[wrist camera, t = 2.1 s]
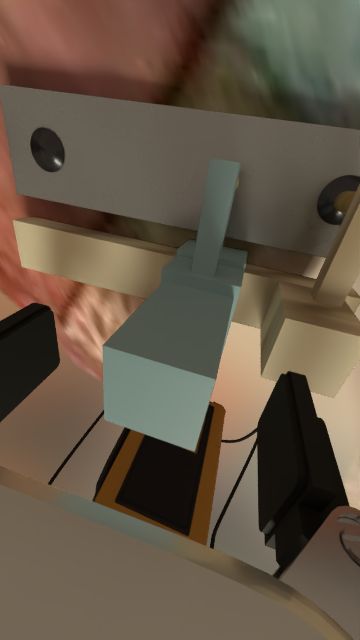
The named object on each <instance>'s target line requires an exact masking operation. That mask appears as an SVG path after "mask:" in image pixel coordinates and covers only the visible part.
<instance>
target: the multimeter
mask: <svg viewBox="0 0 360 640" xmlns="http://www.w3.org/2000/svg"><path fill="white" fill-rule="evenodd" d="M225 412H226V411H225V409H224V407H223V406H222V405H220V404H218V403H216V402H210V401H209V405H208V408H207V412H206V415H205V418H204V422H203V425H202V428H201V432H200V435H199V439H198V442H197V445H196V449H195V452H194V451H191V450H188V449H185V448H183V447H180V446H177V445H174V444H171V443H168V442H166V441H163V440H160V439H157V438H154V437H151V436H149V435H146V434H143V433H140V432H137V431H134V430H132V429H129V428H126V427H125V428H124V430H123V431H122V433H121V435H120V437H119V439H118V441H117V443H116V445H115V447H114V448H113V450H112V452H111V454H110V456H109V458H108V460H107V462H106V464H105V466H104V468H103V471H102V473H101V475H100V477H99V480H98V482H97V485H96V493H95V496H94V497H93V499H92V501H93V502H95V503H98V504H101V505H103V506H106V507H108V508H111V509H113V510H116V511H119V512H121V513H124V514H126V515H129V516H131V517H134V518H137V519H139V520H142V521H144V522H147V523H149V524H152V525H155V526H157V527H160V528H162V529H165V530H167V531H170V532H173V533H175V534H178V535H180V536H183V537H185V538H187V539H190V540H192V541H195V542H197V543H200V544H202V545H205V546H206V544H207V538H208V531H209V524H210V517H211V510H212V503H213V496H214V489H215V483H216V475H217V469H218V462H219V454H220V447H221V442H225V443H235V442H240V441H242V440H245V439H247V438H249V437H250V436H252V435H253V434H254V433H256V432H257V428H256V429H255V430H254V431H252V432H251V433H249V434H248V435H247V436H245V437H243V438H240V439H237V440H221V439H222V431H223V424H224V416H225ZM103 414H104V410H103V412H102V413H101V414H100V415H99V417H98V418H97V419H96V421H95V422H94V423H93V424H92V425H91V427H90V428H89V429H88V430H87V432H86V433H85V434H84V436H83V437H82V438H81V439H80V441H79V442H78V443H77V445H76V446H75V447H74V448H73V450H72V451H71V452H70V454H69V455H68V456H67V458H66V459H65V460H64V462H63V463H62V464H61V466H60V467H59V469H58V470H57V471H56V473H55V474H54V476H53V477H52V478H51V480H50V482H49V483H48V485H51V484H52V483H53V481H54V479H55V478H56V477H57V475H58V474H59V472H60V471H61V470H62V468H63V467H64V465H65V464H66V463H67V461H68V460H69V459H70V457H71V456H72V455H73V453H74V452H75V450H76V449H77V448H78V447H79V445H80V444H81V443H82V441H83V440H84V439H85V437H86V436H87V435H88V434H89V432H90V431H91V430H92V428H93V427H94V425H96V423H97V422H98V421H99V419H100V418H101V417H102V415H103ZM256 446H257V439H256V441H255V443H254V446H253V448H252V450H251V452H250V455H249V457H248V459H247V461H246V463H245V465H244V467H243V469H242V471H241V473H240V476H239V477H238V479H237V482H236V484H235V486H234V488H233V490H232V492H231V494H230V496H229V498H228V500H227V502H226V504H225V506H224V508H223V511H222V512H221V514H220V517H219V519H218V521H217V523H216V525H215V528H214V530H213V534H212V537H211V544H210V548H212V549H214V542H215V536H216V532H217V530H218V527H219V525H220V523H221V521H222V518H223V516H224V514H225V512H226V510H227V508H228V506H229V503H230V501H231V499H232V497H233V495H234V493H235V491H236V489H237V487H238V485H239V482H240V481H241V478H242V476H243V474H244V472H245V470H246V468H247V466H248V464H249V461H250V459H251V457H252V455H253V453H254V451H255V448H256Z"/></svg>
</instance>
